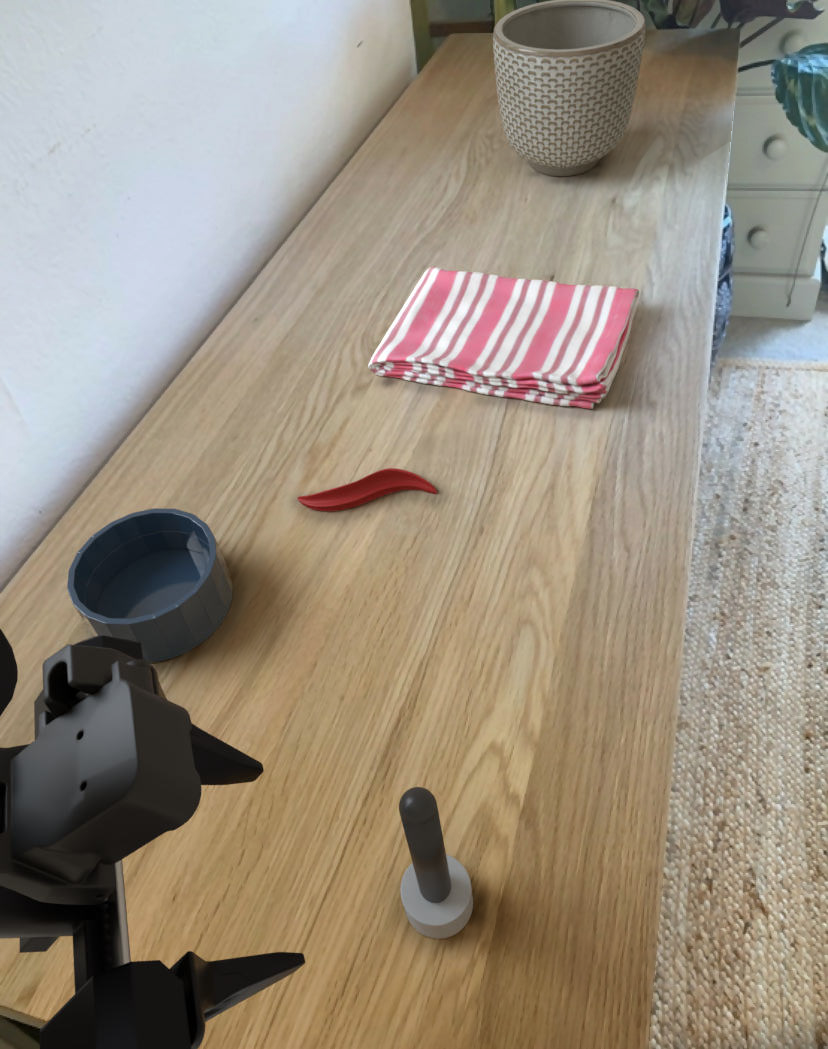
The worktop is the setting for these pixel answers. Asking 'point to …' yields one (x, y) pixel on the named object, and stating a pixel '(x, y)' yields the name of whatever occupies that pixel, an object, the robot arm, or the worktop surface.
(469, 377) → the dish towel
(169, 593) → the bowl
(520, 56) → the planter
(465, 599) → the worktop surface
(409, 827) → the joystick
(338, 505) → the cayenne pepper
